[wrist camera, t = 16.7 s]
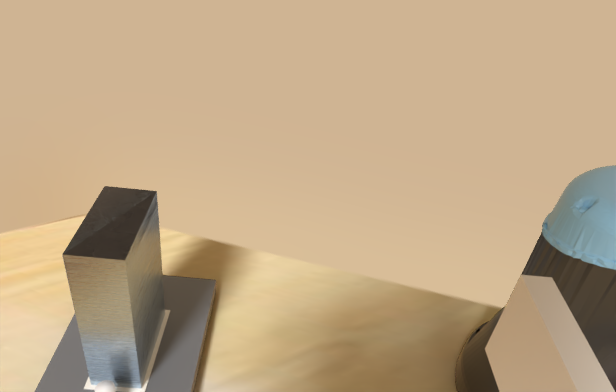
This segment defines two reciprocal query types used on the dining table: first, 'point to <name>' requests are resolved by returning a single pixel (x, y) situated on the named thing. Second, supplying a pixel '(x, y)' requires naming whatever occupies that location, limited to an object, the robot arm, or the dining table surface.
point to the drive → (118, 285)
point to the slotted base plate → (167, 352)
